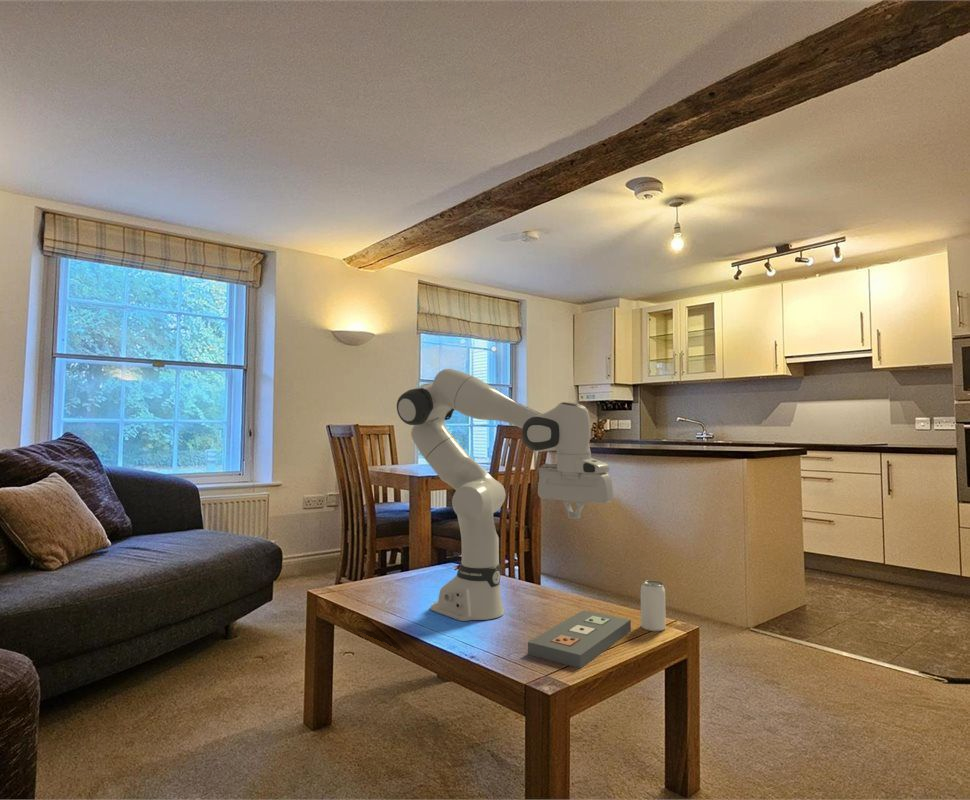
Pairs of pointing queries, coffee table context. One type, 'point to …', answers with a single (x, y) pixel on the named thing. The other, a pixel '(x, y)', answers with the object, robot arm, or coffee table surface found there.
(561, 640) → the three dot button
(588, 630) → the one dot button
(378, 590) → the coffee table surface
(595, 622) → the two dot button
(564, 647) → the button board
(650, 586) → the can
